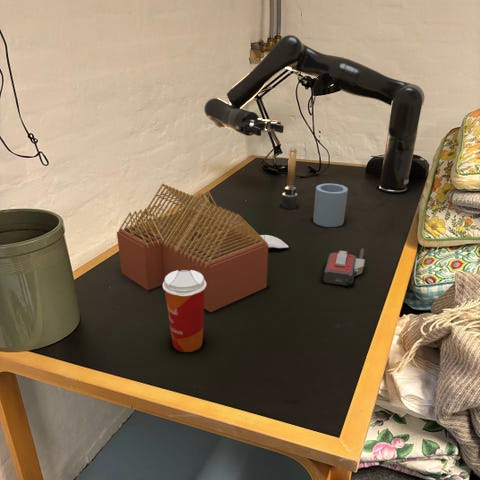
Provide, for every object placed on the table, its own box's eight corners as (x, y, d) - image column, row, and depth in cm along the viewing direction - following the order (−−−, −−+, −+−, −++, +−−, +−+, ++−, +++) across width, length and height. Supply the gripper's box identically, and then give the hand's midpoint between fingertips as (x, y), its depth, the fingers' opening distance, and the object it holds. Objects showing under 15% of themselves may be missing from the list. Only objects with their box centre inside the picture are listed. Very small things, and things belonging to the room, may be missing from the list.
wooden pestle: (283, 203, 162) (286, 145, 152) (297, 204, 161) (301, 146, 151) (281, 208, 158) (284, 149, 148) (295, 209, 157) (299, 150, 147)
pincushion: (289, 244, 134) (290, 224, 131) (287, 254, 129) (288, 233, 126) (245, 241, 136) (245, 221, 133) (241, 250, 131) (241, 230, 128)
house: (120, 272, 119) (110, 193, 109) (198, 246, 133) (195, 173, 122) (193, 320, 102) (189, 231, 92) (273, 284, 115) (277, 203, 105)
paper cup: (168, 333, 98) (163, 268, 90) (207, 331, 98) (205, 267, 91) (166, 356, 91) (160, 289, 84) (208, 355, 92) (206, 288, 84)
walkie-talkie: (359, 290, 113) (366, 254, 129) (362, 273, 111) (368, 238, 127) (321, 285, 115) (332, 250, 131) (323, 267, 113) (334, 234, 129)
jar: (314, 214, 153) (317, 182, 148) (344, 217, 152) (348, 184, 147) (311, 225, 146) (314, 191, 141) (343, 228, 144) (347, 194, 139)
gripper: (225, 111, 162) (253, 120, 151) (261, 107, 169) (290, 116, 157) (225, 135, 166) (252, 146, 155) (260, 131, 173) (288, 140, 161)
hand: (271, 130), depth 156 cm, fingers open, 8 cm apart
